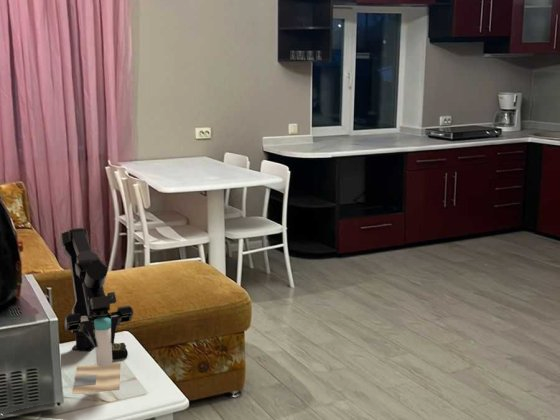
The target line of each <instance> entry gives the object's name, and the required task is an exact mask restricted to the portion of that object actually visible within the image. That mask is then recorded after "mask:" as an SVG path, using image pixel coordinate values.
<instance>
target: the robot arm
mask: <svg viewBox="0 0 560 420" xmlns="http://www.w3.org/2000/svg"><path fill="white" fill-rule="evenodd" d="M89 240H90V239H89V232H88V230H87V229H86V228H85V227H76V228H71V229H68V230H67V231H64V232H63V233H61V234H60V235H59V242H60V243H59V244H60V246H61V247H62V250H63V251H62V252H63V253H64V255H66V257H67V258H68V259H69V264H70V271H71V280H72V286H73V294H74V300H75V303H74V305H73V307H72V310H71V313H69V314H67V315H66V316H65V317H64V318H65V320H64V328H65V331H67V332H71V333H72V334H75V345H73V346H72V347H71V350H75V351H84V352H91V351H92V350H93V349H96V347H97V343H96V339H95V328H94V320H95V319H97V318H102V317H106V318H110V319H111V342H112V345H113V344H114V343H115V339H116V330H117V327H118V326H120V324H123V323H128V322H131V321H132V319H133V315H134V310H133V307H132V306H131V305H124V306H118V307H117V309H116V311H113V312H109V311H110V310H111V305H112V304H113V305H114V304H117V299H116V298H117V297H116V293H115V291H113V292H108V293H107V295H106V293H105V289H104V285H105V282H106V280H107V279H106V278H107V276H108V275H107V274H108V269H107V265H106V264H104V262H103V261H102V260H101V259H100V257H99V255H98V254H97V253H95V252H93V251H92V249H91V246H90V243H89V242H90V241H89Z"/></svg>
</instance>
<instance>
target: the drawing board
mask: <svg viewBox="0 0 560 420" xmlns="http://www.w3.org/2000/svg"><path fill="white" fill-rule="evenodd" d="M121 364H122V363H121V362H112V364H111V365H109V366H105V367H101V366H98V365H97V364H87V365H77V366H76V370H75V376H74V381H73V386H72V391H71V394H73V395H74V394H84V393H85V394H86V393H99V392H107V391H119V390H120V385H121V366H122V365H121Z"/></svg>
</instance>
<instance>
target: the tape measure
mask: <svg viewBox="0 0 560 420" xmlns="http://www.w3.org/2000/svg"><path fill="white" fill-rule="evenodd" d="M128 355H129V352H128V349H127V344H125V342H119V343H116V342H114V344H113V345H112V360H113V361H114V360H120V359H126V358H127V357H128Z"/></svg>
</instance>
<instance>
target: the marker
mask: <svg viewBox="0 0 560 420" xmlns="http://www.w3.org/2000/svg"><path fill="white" fill-rule="evenodd" d="M94 328H95V330H94V336H95V339H96V343H97V347H96V348H95V358H96V362H95V363H96V365H98V366H101V367H105V366H109V365H111V364H112V363H113V359H112V342H111V319H110V318H106V317H102V318H97V319H95V320H94Z"/></svg>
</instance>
